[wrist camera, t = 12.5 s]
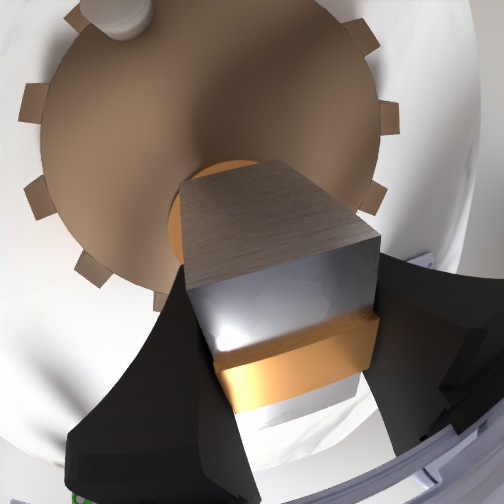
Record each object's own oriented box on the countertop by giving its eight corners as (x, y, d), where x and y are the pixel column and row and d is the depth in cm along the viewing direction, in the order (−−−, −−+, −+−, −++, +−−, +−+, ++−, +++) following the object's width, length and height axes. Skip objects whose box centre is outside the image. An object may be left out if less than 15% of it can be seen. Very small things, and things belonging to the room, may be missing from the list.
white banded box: (295, 288, 13) (359, 401, 8) (216, 311, 13) (248, 439, 8) (281, 158, 10) (390, 240, 5) (177, 182, 10) (184, 300, 4)
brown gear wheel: (419, 112, 14) (484, 130, 10) (254, 326, 19) (276, 387, 15) (175, -78, 6) (179, -133, 2) (0, 211, 11) (-48, 260, 7)
